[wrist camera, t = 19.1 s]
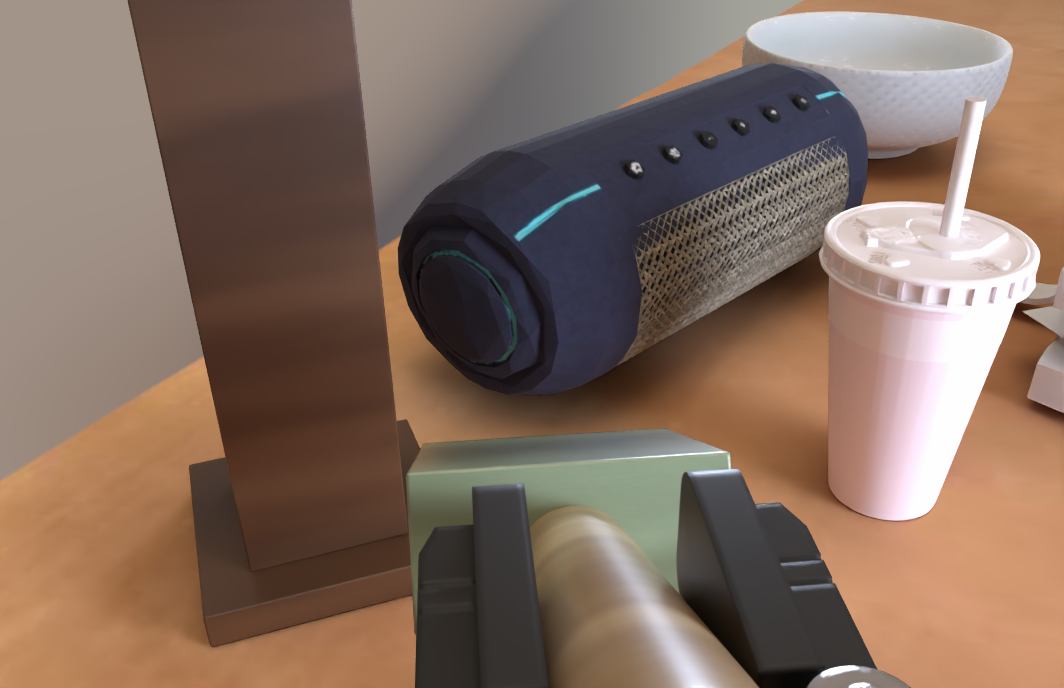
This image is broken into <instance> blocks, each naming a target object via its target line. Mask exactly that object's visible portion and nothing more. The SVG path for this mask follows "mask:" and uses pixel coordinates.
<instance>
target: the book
mask: <svg viewBox="0 0 1064 688" xmlns="http://www.w3.org/2000/svg"><path fill="white" fill-rule="evenodd" d="M1020 303H1025V304H1033V305H1041V304H1050V303H1053V306H1049V307H1044V308H1038V309H1032V310H1027V311H1022V312H1024V313H1025V314H1027V315H1028V316H1030V317H1032V318H1033V319H1035V320H1036V321H1038V322H1039V323H1041V324H1042V325H1044V326H1045V327H1047V328H1049V329H1050V330H1052V331H1053V332H1055V333H1056V334H1058V335H1059V337H1058V338H1057V339H1055V340H1054V341H1053V342H1052V343H1051V344H1050V345H1049V346H1048V347H1047V349H1046V350H1045V352H1044V353H1043V355H1042V356H1041V358H1040V360H1039V361H1038V363H1037V365H1036V369H1035V372H1034V375H1033V379H1032V382H1031V385H1030V389H1029V392H1028V395H1027V398H1029V399H1031V400H1034V401H1036V402H1038V403H1041V404H1043V405H1045V406H1048V407H1050V408H1053V409H1055V410H1057V411H1060V412H1062V413H1064V267H1063V268H1062V269H1061V273H1060V277H1059V282H1058V284H1054V285H1050V284H1042V283H1037V282H1036V283H1035V288H1034V289H1033V291H1032V292H1031V293H1030V294H1029V296H1028V297H1027V298H1026V299H1024V300H1022V301H1020Z"/></svg>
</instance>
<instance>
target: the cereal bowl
mask: <svg viewBox="0 0 1064 688" xmlns="http://www.w3.org/2000/svg"><path fill="white" fill-rule="evenodd" d="M1012 57H1013V49H1012V46H1011V45H1010V43H1009V42H1008V41H1006V40H1005V39H1003V38H1002V37H1000V36H997V35H995V34H993V33H990V32H988V31H985V30H982V29H978V28H974V27H970V26H966V25H962V24H957V23H952V22H947V21H941V20H936V19H929V18H922V17H915V16H906V15H896V14H885V13H869V12H808V13H797V14H789V15H783V16H778V17H772V18H769V19H765V20H762V21H760V22H757V23H755V24H754V25H752V26H751V27H750V28H749V29H748V30H747V32H746V34H745V38H744V46H743V58H742V65H743V67H744V66H749V65H758V64H767V63H777V64H785V65H792V66H799V67H804V68H807V69H809V70H812V71H814V72H817V73H819V74H821V75H823V76H825V77H827V78H828V79H830V80H831V81H832V82H833V83H834V84H835V85H836V86H837V87H838V88H839V89H840V91H841V92H842V93H843V94H844V95H845V96H846V98H847V99H848V100H849V101H850V102H851V103H852V105H853V106H854V107H855V109H856V110H857V112H858V114H859V117H860V119H861V122H862V124H863V127H864V129H865V132H866V137H867V147H868V159H881V158H893V157H899V156H903V155H907V154H910V153H912V152H914V151H915V150H917V149H918V148H919V147H924V146H931V145H933V144H939V143H941V142H946V141H948V140H950V139H953V138H956V137H958V135H959V130H960V125H961V120H962V115H963V110H964V105H965V100H966V98H967V97H972V96H975V97H982V98H985V99H986V105H985V110H984V114H983V119H985V118H986V116H987V115H988V114H989V113H990V111H991V110H992V109H993V108H994V106H995V104H996V102H997V101H998V99H999V97H1000V95H1001V93H1002V91H1003V88H1004V86H1005V83H1006V79H1007V77H1008V73H1009V68H1010V66H1011V60H1012ZM983 119H982V120H983Z"/></svg>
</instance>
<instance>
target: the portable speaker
mask: <svg viewBox="0 0 1064 688" xmlns="http://www.w3.org/2000/svg"><path fill="white" fill-rule="evenodd" d="M867 169H868V147H867V137H866V132H865V129H864V127H863V124H862V122H861V119H860V117H859V114H858V112H857V110H856V109H855V107H854V106H853V105H852V103H851V102H850V101H849V100H848V99H847V98H846V96H845V95H844V94H843V93H842V92H841V91H840V89H839V88H838V87H837V86H836V85H835V84H834V83H833V82H832V81H831V80H830V79H828V78H827V77H825V76H823V75H821V74H819V73H817V72H814V71H812V70H809V69H807V68H804V67H799V66H792V65H785V64H777V63H767V64H758V65H749V66H744V67H741V68H738V69H735V70H732V71H730V72H727V73H724V74H721V75H718V76H715V77H712V78H709V79H706V80H703V81H700V82H697V83H694V84H691V85H688V86H685V87H682V88H679V89H676V90H674V91H671V92H668V93H665V94H662V95H659V96H656V97H653V98H650V99H647V100H644V101H641V102H638V103H635V104H632V105H629V106H626V107H623V108H621V109H618V110H615V111H612V112H609V113H606V114H603V115H600V116H597V117H594V118H591V119H588V120H585V121H583V122H579V123H576V124H573V125H571V126H568V127H565V128H562V129H559V130H556V131H553V132H550V133H547V134H544V135H541V136H538V137H535V138H532V139H529V140H526V141H523V142H520V143H517V144H514V145H512V146H509V147H506V148H503V149H500V150H497V151H494V152H491V153H489V154H487V155H484V156H482V157H480V158H478V159H476V160H475V161H474V162H472V163H471V164H469V165H468V166H467V167H465V168H464V169H462V170H461V171H459V172H458V173H457V174H455V175H454V176H452V177H451V178H449V179H448V180H446V181H445V182H444V183H442V184H441V185H439V186H438V187H437V188H435V189H434V190H433V191H432V192H431V193H430V194H429V195H427V196H426V197H425V199H424V200H423V201H422V203H421V204H420V206H419V207H418V209H417V210H416V211H415V212H414V214H413V215H412V217H411V218H410V219H409V221H408V222H407V224H406V225H405V226H404V229H403V232H402V236H401V239H400V243H399V246H398V265H399V276H400V279H401V283H402V286H403V289H404V293H405V296H406V299H407V303H408V306H409V308H410V310H411V312H412V313H413V315H414V317H415V319H416V321H417V322H418V324H419V326H420V328H421V330H422V331H423V333H424V335H425V337H426V339H427V340H428V341H429V342H430V343H431V344H432V345H433V346H434V347H435V348H436V349H437V350H438V351H439V352H440V353H441V354H442V355H443V356H444V357H445V358H446V360H447V361H448V362H449V363H450V364H452V365H453V366H454V367H455V368H456V369H457V370H459V371H460V372H461V373H462V374H463V375H464V376H466V377H467V378H468V379H469V380H471V381H473V382H475V383H477V384H479V385H480V386H482V387H484V388H487V389H491V390H494V391H498V392H502V393H506V394H523V395H553V394H557V393H560V392H563V391H567V390H570V389H574V388H577V387H580V386H582V385H584V384H586V383H588V382H590V381H592V380H594V379H596V378H598V377H600V376H602V375H604V374H605V373H607V372H609V371H611V370H612V369H613V368H614V367H616V366H618V365H620V364H621V363H623V362H625V361H627V360H628V359H630V358H632V357H634V356H635V355H637V354H639V353H641V352H642V351H644V350H646V349H648V348H649V347H651V346H652V345H654V344H656V343H658V342H659V341H661V340H663V339H665V338H666V337H668V336H670V335H672V334H673V333H675V332H677V331H679V330H680V329H682V328H684V327H685V326H687V325H689V324H691V323H692V322H694V321H696V320H698V319H699V318H701V317H703V316H705V315H706V314H708V313H710V312H711V311H713V310H715V309H717V308H718V307H720V306H722V305H724V304H725V303H727V302H729V301H731V300H733V299H734V298H736V297H738V296H740V295H741V294H743V293H745V292H747V291H748V290H750V289H752V288H753V287H755V286H757V285H759V284H760V283H762V282H764V281H765V280H767V279H769V278H771V277H772V276H774V275H776V274H778V273H780V272H781V271H783V270H785V269H786V268H788V267H790V266H792V265H793V264H795V263H797V262H798V261H800V260H802V259H804V258H805V257H808V256H810V255H812V254H814V253H815V252H817V251H818V250H820V249H821V248H822V246H823V239H824V231H825V227H826V225H827V224H828V222H829V221H830V220H831V219H832V218H834V217H835V216H837V215H838V214H840V213H842V212H844V211H846V210H849V209H851V208H855V207H859V206H861V203H862V200H863V196H864V192H865V188H866V184H867Z"/></svg>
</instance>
